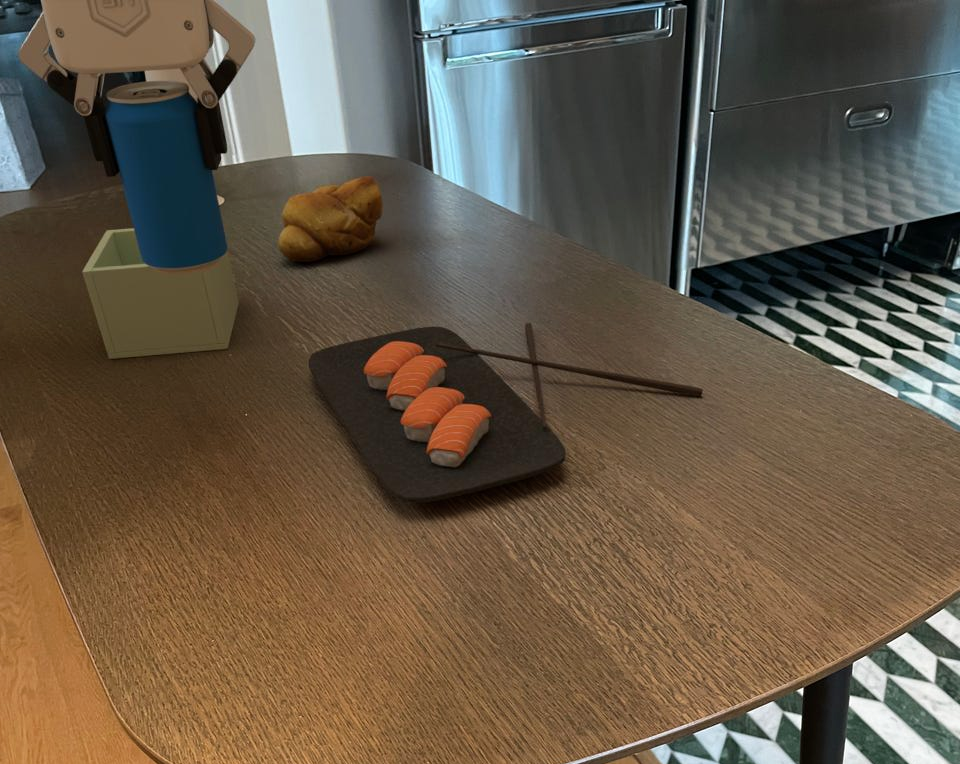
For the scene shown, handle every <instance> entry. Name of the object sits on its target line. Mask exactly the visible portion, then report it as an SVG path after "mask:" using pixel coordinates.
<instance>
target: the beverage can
mask: <svg viewBox="0 0 960 764" xmlns="http://www.w3.org/2000/svg"><path fill="white" fill-rule="evenodd" d="M106 98H107V100H108V103H107V105H108V106H107V108H106V112H105V118H106V122H107V126H108V129H109V133H110V137H111V141H112V145H113V149H114V153H115V157H116V161H117V164H118V168H119V174H120V175H119V176H120V179H121V183H122V188H123V191H124V196H125V199H126V203H127V207H128V210H129V214H130V218H131V219H130V220H131V222H132V226H133V228H134V231H135V234H136V238H137V242H138V246H139V250H140V254H141V258H142V261H143V262H144V263H145V264H146V265H148V266H150V267H153V268H154V269H155V270H156V271H157V272H159V273H161V274H165V275H176V276H178V275H190V274H196V273H200V272H203V271H206V270H209V269H211V268H213V267H215V266H216V265H217V264H218V263H219V262H220V258H221V257H223V256H224V255H225V254H226V252H227V250H228V242H227V237H226V233H225V228H224V223H223V218H222V214H221V208H220V205H219V202H218V197H217V195H218V193H217V192H218V191H217V187H216V183H215V178H214V173H213V170H209V168H206V164H205V159H204V154H203V149H202V144H201V140H200V135H199V130H198V125H197V120H196V115H195V111H196V109H197V108H198V103H197V101H196V100H195V99H194V98H193V97H192V95H191V94H190V93H189V86H188V85H187V84H186V83H183V82H178V81H148V82H146V81H140V82H133V83H129V84H128V83H127V84H124V85H120V86H117V87H115V88H112V89H110V90H108V91H107V93H106Z"/></svg>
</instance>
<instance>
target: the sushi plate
mask: <svg viewBox="0 0 960 764" xmlns="http://www.w3.org/2000/svg"><path fill="white" fill-rule="evenodd" d="M524 327H525V330H524V331H525V334H526V335H525V336H526V341H527V346H528V352H529V356H530V358H528V357H522V356H516V355H510V354H505V353H499V352H493V351H487V350H481V349H476V348H472V346H471V345H469V343H467V342H466V341H465V340H464V339H463V338H462V337H461V336H460V335H459V334H458V333H456V332H454V331H453V330H451V329H449V328H446V327H442V326H423V327H417V328H411V329H405V330H401V331H396V332H395V331H394V332H390V333H386V334H380V335H377V336H372V337H367V338H362V339H358V340H353V341H349V342H344V343H340V344H335V345H331V346H329V347H325V348H322V349H320V350H317V351H315V352H313V353H312V354H311V355H310V356H309V358H308V368H309V371H310V373H311V375H312V377H313V379H314V380H315V382H316V384H317V385H318V387H319V388H320V390H321V391H322V393H323V395H324V396H325V398H326V399H327V401H328V402H329V404H330V406H331V408H332V409H333V410H334V412H335V414H336V415H337V417H338V418H339V420H340V421H341V423H342V425H343V427H345V429H346V431H347V433H348V434H349V436H350V438H351V439H352V440H353V442H354V443H355V445H356V446H357V448H358V450H359V451H360V453H361V455H362V456H363V458H364V459H365V461H366V462H367V464H368V465H369V467H370V469H371V470H372V472H373V473H374V475H375V476H376V478H377V479H378V480H379V482H380V483H381V485H382V486H383V487H384V488H385V489H386V490H387V491H388V493H389V494H390V495H392V497H394V498H396V499H398V500H400V501H402V502H405V503H412V504H418V503H419V504H421V503H430V502H436V501H442V500H446V499H451V498H455V497H460V496H463V495H468V494H472V493H476V492H481V491H483V490H484V491H485V490H487V489H491V488H495V487H499V486H502V485H507V484H511V483H514V482H518V481H521V480H525V479H528V478H531V477H535V476H538V475H541V474H544V473H547V472H549V471H552V470H554V469H556V468H557V467H559V466H560V465H562V464H563V463H564V462H565V461H566V457H567V453H566V449H565V446H564V444H563V442H562V441H561V439H559V437H558V436H557V435H556V434H555V432H554V431H553V430H552V429H551V428H550V427H549V426H548V425H547V419H546V413H545V407H544V400H543V394H542V388H541V387H542V386H541V380H540V374H539V368H538V367H544V368H550V369H554V370H560V371H563V372H569V373H575V374H579V375H585V376H589V377H594V378H599V379H603V380H610V381H614V382H619V383H623V384H630V385H634V386H639V387H643V388H644V387H645V388H650V389H653V390H654V389H655V390H659V391H664V392H665V391H666V392H670V393H675V394H680V395H686V396H691V395H692V397H696V396H701V395H703V391H704V389H703V388H701V387H696V386H691V385H687V384H681V383H674V382H669V381H663V380H657V379H651V378H645V377H640V376H634V375H628V374H622V373H616V372H609V371H604V370H597V369H592V368H586V367H584V368H583V367H580V366H574V365H569V364H562V363H556V362H549V361H544V360H538V359H537V352H536V346H535V339H534V333H533V327H532V323H531V322H527V323H525V324H524ZM480 355H482V356H485V357H490V358H491V357H492V358H496V359H502V360H507V361H511V362H517V363H523V364H529V365H531V369H532V373H533V379H534V385H535V391H536V397H537V403H538V409H539V415H540V417H539V415H538V414H537V413H536V412H534V410H532V408H531V407H530V406H529V405H528V404H527V403H526V402H525V401H524V400H523V399H522V398H521V397H520V396H519V395H518V393H516V392H515V390H513V388H512V387H511V386H510V385H508V383H507V382H506V381H504V379H502V377H501V376H500V375H499V374H498V373H497V372H496V371H495V370H494V369H493V368H492V367H491V366H490V365H489V364H488V363H487V361H485V360H484V359H483V358H482V357H481V356H480ZM701 397H702V396H701Z"/></svg>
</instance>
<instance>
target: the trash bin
mask: <svg viewBox="0 0 960 764" xmlns="http://www.w3.org/2000/svg"><path fill="white" fill-rule="evenodd" d="M231 264H232V263H231V259H230V255H229V251H228V250H227V252H226V254H225V255H224V256H223V257H221V258H220V262H219V263H218V264H217V265H216V266H215V267H213V268H211V269H209V270H206V271H203V272H200V273H196V274H190V275H178V276H176V275H165V274H161V273H159V272H157V271H156V270H155V269H154V268H153V267H150V266H148V265H146V264H145V263H144V262H143V261H142V258H141V254H140V250H139V246H138V242H137V238H136V234H135V231H134V227H133V228H132V227H131V228H121V229H120V228H118V229H106V231H105V232H104V234H103V235H102V238H101V239H100V241H99V242H98V244H97V245H96V247H95V249H94V251H93V252H92V254H91V256H90V257H89V260H88V261H87V262H86V264H85V266H84V267H83V270H82V271H81V273H82V277H83V280H84V283H85V286H86V290H87V293H88V295H89V299H90V302H91V305H92V308H93V311H94V315H95V318H96V323H97V325H98V328H99V332H100V334H101V337H102V341H103V344H104V348H105V350H106V353H107V356H108V359H109V360H113V359H115V360H116V359H126V358H138V357H149V356H150V357H151V356H161V355H172V354H183V353H194V352H195V353H196V352H197V353H198V352H206V351H207V352H208V351H219V350H228V348H229V345H230V341H231V338H232V337H231V336H232V333H233V329H234V325H235V320H236V317H237V312H238V309H239V305H240V302H239V298H238V293H237V288H236V284H235V283H236V282H235V278H234V274H233V269H232V265H231Z"/></svg>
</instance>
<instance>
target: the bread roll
mask: <svg viewBox="0 0 960 764" xmlns="http://www.w3.org/2000/svg"><path fill="white" fill-rule="evenodd" d="M383 203H384V202H383V198H382V193H381V189H380V187H379V185H378V183H377V181H376V179H375V178H374V177H372V176H362V177H358V178H353V179H350V180H348V181H346V182H344V183H343V184H342V185H341V186H340V185H338V184H329V185H325V186H319V187H317V188H316V189H315V190H314V191H313V192H305V193H299V194H296V195H293V196H291V197H290V198H289V199H288V201H287V202H286V204H285V205H284V208H283V209H282V213H281V216H282V219H281V220H282V224H283V230H282V231H281V233H280V234H279V236H278V241H277V242H278V243H277V244H278V249H279V252H280V253H281V254H282V256H283V257H284V258H286V259H287V260H289V261H292V262H315V261H319V260H322V259H324V258H326V257H327V256H329V255H331V256H343V255H344V256H345V255H352V254H354V253H357V252H359V251H361V250H364V249H366V248H368V246H370V245H372V242H373V240H374V239H375V235H376V226H377V221H379V220H380V219H381V218H382V216H383V206H384V205H383Z"/></svg>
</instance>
